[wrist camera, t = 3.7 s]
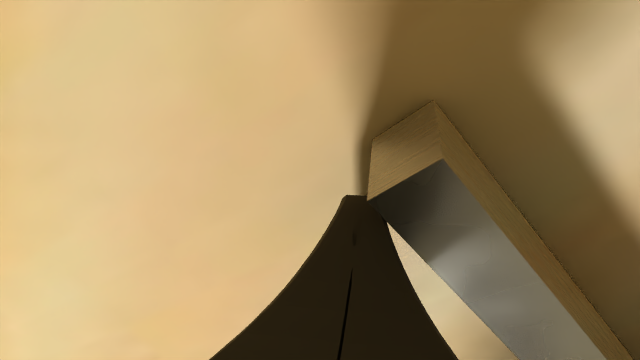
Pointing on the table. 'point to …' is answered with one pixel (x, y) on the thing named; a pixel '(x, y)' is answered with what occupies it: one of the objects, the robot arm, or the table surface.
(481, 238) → the bar
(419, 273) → the table surface
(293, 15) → the table surface
